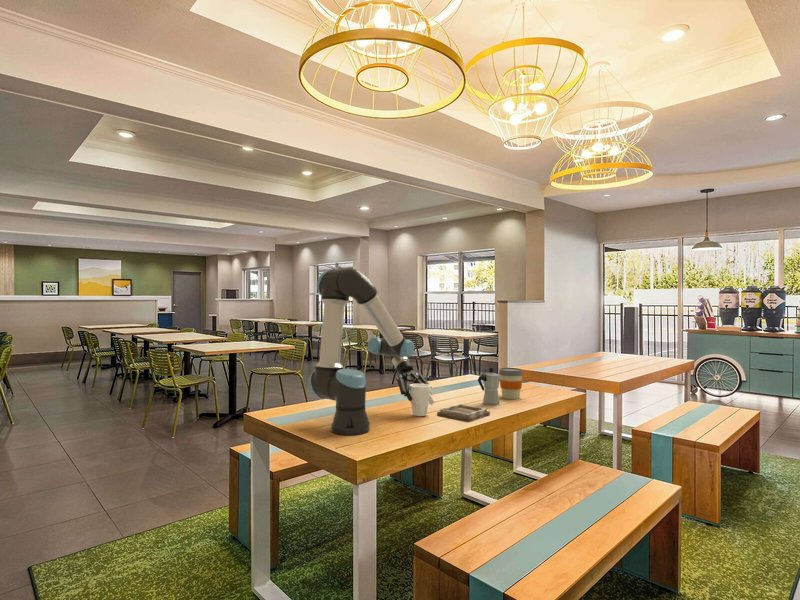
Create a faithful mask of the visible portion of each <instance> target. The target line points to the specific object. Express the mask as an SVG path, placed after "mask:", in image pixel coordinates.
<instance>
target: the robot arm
mask: <svg viewBox="0 0 800 600" xmlns="http://www.w3.org/2000/svg"><path fill="white" fill-rule="evenodd" d="M316 290H317V292H318V294H319V295H320V296H321V298H320V300H321V302H322V303H323V305H324V306H323V316H322V329H321V340H320V351H319V361H318V362H317V363H316V364H315V366H314V367H315V368H314V370H313V371H312V372H311V374H309V377H308V381H307V382H308V383H307V384H308V388H309V391H310V392H311V394H312V395H314V396H315V397H318V398H320V399H324V400H330V401H334V402H335V412H334V416H333V418H332V423H331V426H330V427H331V428H330V431H331V433H333V434H336V435H342V436H353V435H354V436H356V435H361V434H366V433H368V432H370V431H371V430H370V428H371V426H370V424H371V423H370V422H369V418H368V414H367V411H366V395H367V393H366V391H367V390H366V389H367V381H366V375H365V373H364V372H363V371H361V370H358V369H352V368H344V366H343V364H342V363H341V356H342V344H343V333H344V321H345V320H344V319H345V309H346V308H345V306H346V305H347V304H348V303H349V302H350V301H349V300H350V298H352V299H354V300H355V302H356V303H357V304H358V305H361V306H362V307H363V308H364V310H365V312H366V314H367V315H368V317H370V319H371V322H373V324H374V325H375V327H376V328H377V330H378V331H379V333H380V335H381V336H382V337H370V339H369V340H368V342H367V349H368V351H369V353H370V354H374V355H380V356H386V357H389V359H390V361H391V364H392V365H393V366H394V369H395V370H396V373H397V375H396V376H395V379H396V381H397V384H398V388H399V392H400V395H402V396H404V397H406V398H407V400H408V401H409V402H410V403H411V404H412V405H411V407H412V406H413V408H415V407H416V406H417V405H418V403H417V402H416V400H415V398H414V396H413V394H412V392H410V390H409V385H410V383H412V384H429V385H431V384H430V383H429V382H428V381H427V380H426V379H425V377H424V375H423V374H422V372H421V371H418V372H416V371H415V370H414V366H413V365H412V363H411V362H410V359H409V357H411V356H412V355H413V354H414V352H415V345H414V342H413V341H412V340H409V339H406V338H405V337H404V336H403V334H402V332H401V331H400V329H399V327H398V326H397V324H396V322H395V321H394V319H393V317H392V316H391V314H390V313H389V312H388V310H387V308H386V307H385V305H384V304H383V302H382V300H381V298H379V296H378V290H377V288H376V286H375V285H374V284H373V282H372V281H371V280H370V279H369V277H367V276H366V275H365V274H364V273H363V272H362V271H360V270H358V269H356V268H352V267H351V268H349V267H348V268H333V269H330V270H328V269H327V270H325V271H324V272H322V273H321V274H320V275H319V276H318V277H317V281H316ZM432 388H433V387H432V386H431V389H432ZM435 402H436V401H435V399H434V397H433V394H432V392H431V391H430V395H429V402H428V404H429V405H431V406H433V404H434V403H435Z"/></svg>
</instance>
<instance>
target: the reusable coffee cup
mask: <svg viewBox="0 0 800 600" xmlns="http://www.w3.org/2000/svg"><path fill="white" fill-rule="evenodd" d="M523 371H524V370H523V369H522V368H518V367H501V368H499V371H498V375H500V380H499V386H500V387H499V388H500V389H501V395H502V396H501V397H502V398H503V399H509V400H510V399H511V400H515V399H516V400H518V399H520V397H521V389H522V386H523V375H524V374H523V373H524V372H523Z"/></svg>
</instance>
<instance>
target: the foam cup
mask: <svg viewBox="0 0 800 600" xmlns="http://www.w3.org/2000/svg"><path fill="white" fill-rule="evenodd" d="M429 384H430V383H429ZM429 384H415V383H409V393H410V392H412V394H413V396H414V398H415V400H416V402H417V403H418V405H417V406H416V407H415V408H413V406H412V404H411V411H412V412H411V413H412V415H413V416H416V417H422V416H423V417H424V416H427V415H428V409H429V395H430V392H431V389H432V388H431V387H432V385H431V384H430V385H429Z"/></svg>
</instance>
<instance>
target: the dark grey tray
mask: <svg viewBox="0 0 800 600" xmlns="http://www.w3.org/2000/svg"><path fill="white" fill-rule="evenodd" d="M490 415H491V411H489V410H488V409H487V408H484V407H479V406H473V405H467V404H462V403H459V404H455V405H451V406H446V407H443V408H441V409H440V410H439V411H437V413H436V416H438V417H442V418H448V419H453V420H458V421H463V422H468V423H470V422H473V421H476V420H479V419H481V418H485V417H487V416H490Z"/></svg>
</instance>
